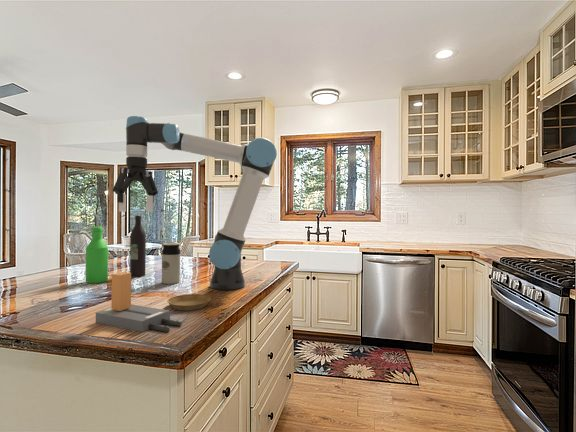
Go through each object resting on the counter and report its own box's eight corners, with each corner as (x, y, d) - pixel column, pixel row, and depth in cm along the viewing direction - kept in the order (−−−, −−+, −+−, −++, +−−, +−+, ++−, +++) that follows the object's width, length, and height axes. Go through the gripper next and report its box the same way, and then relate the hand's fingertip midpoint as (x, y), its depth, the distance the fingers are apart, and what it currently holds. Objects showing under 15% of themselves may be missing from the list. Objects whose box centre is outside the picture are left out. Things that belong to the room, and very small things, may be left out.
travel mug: (172, 279, 163) (173, 242, 163) (183, 282, 159) (183, 243, 158) (157, 282, 157) (158, 243, 157) (168, 285, 152) (169, 244, 152)
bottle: (100, 284, 152) (101, 227, 151) (81, 283, 152) (81, 227, 151) (111, 280, 161) (111, 226, 160) (92, 279, 161) (93, 226, 160)
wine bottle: (130, 275, 173) (130, 215, 172) (145, 274, 176) (145, 215, 175) (129, 277, 166) (130, 215, 166) (145, 276, 169) (146, 215, 169)
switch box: (95, 322, 102) (95, 312, 102) (125, 312, 112) (126, 303, 112) (161, 335, 92) (161, 324, 92) (187, 323, 102) (188, 313, 102)
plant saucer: (193, 315, 111) (193, 307, 111) (157, 309, 117) (157, 301, 117) (219, 303, 125) (219, 296, 125) (186, 299, 131) (186, 292, 131)
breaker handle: (111, 309, 104) (111, 274, 104) (122, 306, 108) (122, 272, 107) (120, 311, 103) (120, 275, 102) (130, 307, 106) (131, 273, 106)
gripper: (153, 161, 148) (152, 211, 148) (101, 152, 124) (101, 211, 125) (166, 161, 145) (166, 211, 145) (117, 151, 122) (117, 211, 122)
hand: (136, 211), depth 135 cm, fingers open, 13 cm apart
